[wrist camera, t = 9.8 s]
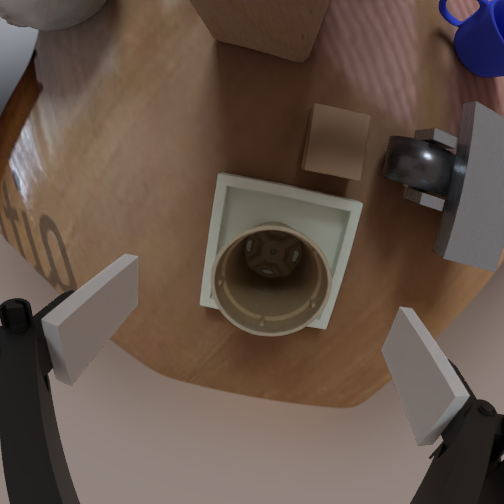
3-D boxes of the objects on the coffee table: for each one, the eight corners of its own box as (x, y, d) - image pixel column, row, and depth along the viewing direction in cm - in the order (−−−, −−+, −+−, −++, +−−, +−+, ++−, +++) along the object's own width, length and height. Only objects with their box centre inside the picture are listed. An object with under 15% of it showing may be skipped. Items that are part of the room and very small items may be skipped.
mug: (435, -8, 20) (472, -41, 11) (503, 60, 22) (551, 46, 12) (409, 24, 23) (448, -11, 13) (483, 97, 24) (536, 88, 14)
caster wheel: (387, 93, 26) (422, 75, 18) (478, 132, 25) (525, 132, 17) (361, 221, 30) (389, 245, 22) (453, 245, 30) (494, 272, 22)
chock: (309, 110, 27) (314, 102, 23) (357, 120, 27) (370, 115, 23) (300, 167, 29) (304, 169, 25) (348, 177, 29) (360, 181, 25)
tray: (222, 172, 30) (218, 173, 28) (357, 200, 30) (362, 203, 28) (204, 296, 34) (199, 305, 32) (323, 319, 34) (326, 329, 32)
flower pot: (324, 285, 32) (336, 327, 24) (238, 298, 34) (225, 343, 25) (311, 198, 29) (323, 215, 21) (218, 215, 31) (196, 238, 23)
